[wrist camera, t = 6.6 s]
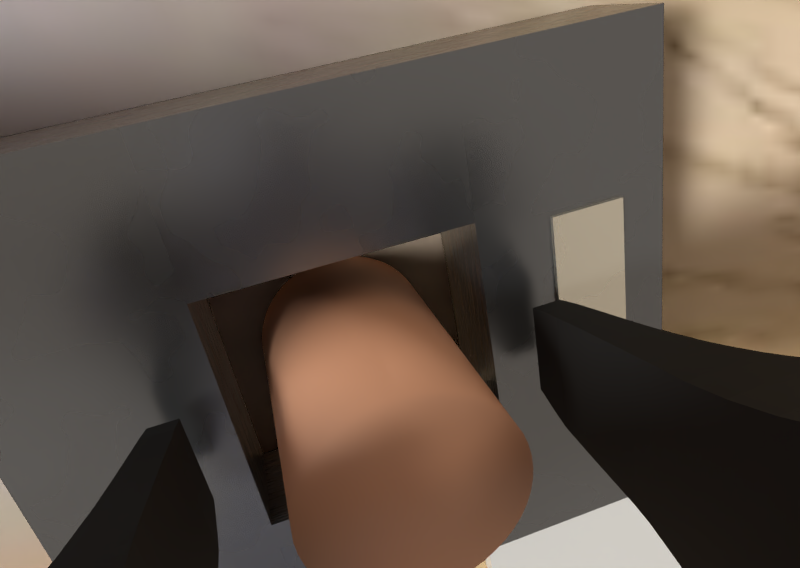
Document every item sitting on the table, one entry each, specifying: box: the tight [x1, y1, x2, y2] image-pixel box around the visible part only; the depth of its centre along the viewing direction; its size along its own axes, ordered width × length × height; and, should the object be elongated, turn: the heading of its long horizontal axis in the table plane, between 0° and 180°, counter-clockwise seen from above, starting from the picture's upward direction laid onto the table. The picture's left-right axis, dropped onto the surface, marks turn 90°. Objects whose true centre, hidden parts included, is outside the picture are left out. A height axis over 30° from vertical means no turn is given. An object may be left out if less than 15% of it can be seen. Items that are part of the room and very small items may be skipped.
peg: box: [262, 256, 533, 568], centre depth 12 cm, size 4×4×6 cm
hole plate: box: [0, 3, 664, 568], centre depth 14 cm, size 12×14×3 cm
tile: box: [486, 497, 682, 568], centre depth 20 cm, size 7×7×1 cm
